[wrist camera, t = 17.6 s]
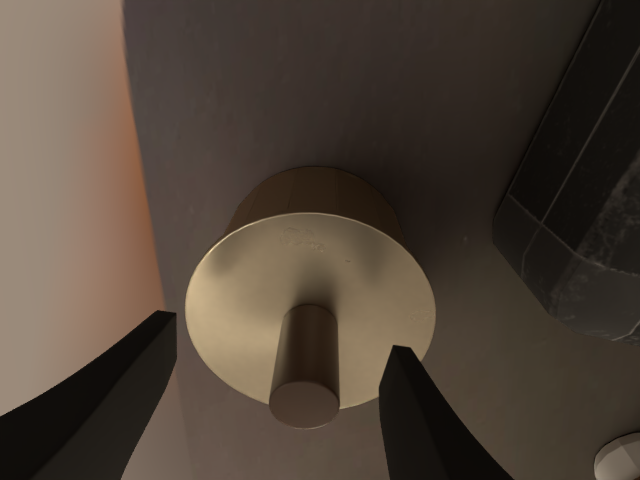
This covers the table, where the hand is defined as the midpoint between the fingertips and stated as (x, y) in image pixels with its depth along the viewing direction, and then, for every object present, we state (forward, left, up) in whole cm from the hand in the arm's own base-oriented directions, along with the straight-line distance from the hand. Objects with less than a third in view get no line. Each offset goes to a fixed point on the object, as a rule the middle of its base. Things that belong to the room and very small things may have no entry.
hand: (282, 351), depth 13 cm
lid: (+1, -2, -4) cm, 4 cm away
